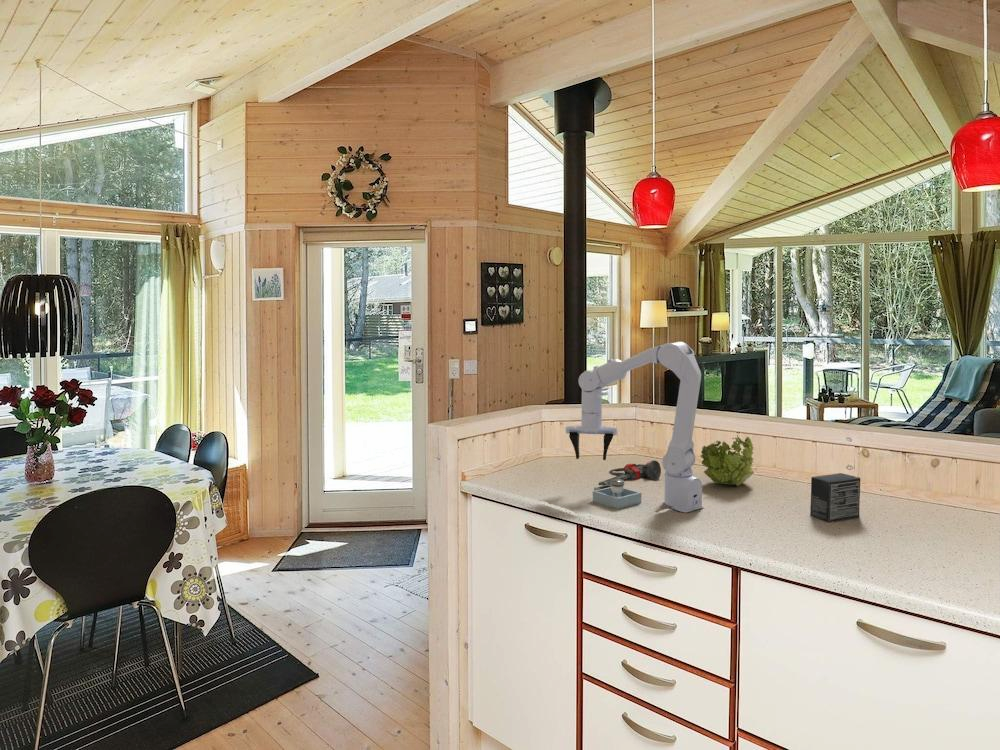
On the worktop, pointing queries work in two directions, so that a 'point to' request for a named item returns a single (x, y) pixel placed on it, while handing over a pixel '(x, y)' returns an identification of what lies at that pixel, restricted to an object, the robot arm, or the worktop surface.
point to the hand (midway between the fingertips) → (591, 458)
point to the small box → (835, 497)
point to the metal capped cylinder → (617, 487)
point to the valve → (636, 472)
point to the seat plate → (601, 487)
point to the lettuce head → (728, 462)
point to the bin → (627, 499)
